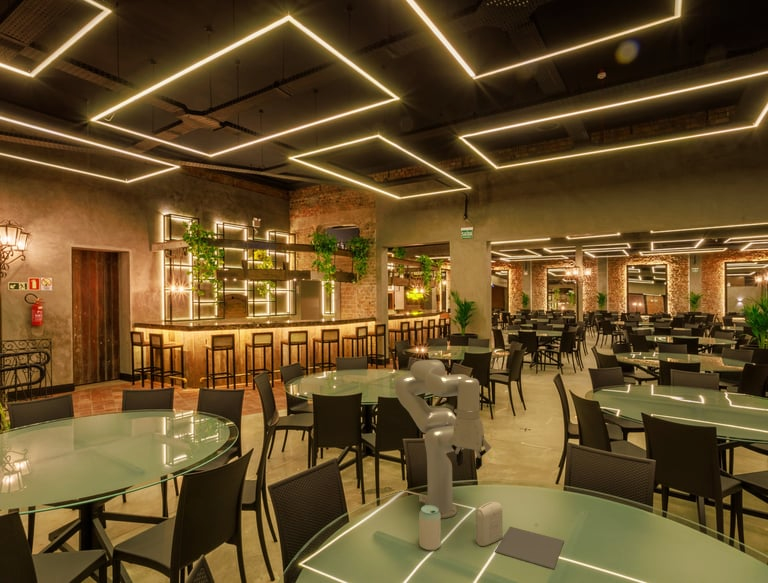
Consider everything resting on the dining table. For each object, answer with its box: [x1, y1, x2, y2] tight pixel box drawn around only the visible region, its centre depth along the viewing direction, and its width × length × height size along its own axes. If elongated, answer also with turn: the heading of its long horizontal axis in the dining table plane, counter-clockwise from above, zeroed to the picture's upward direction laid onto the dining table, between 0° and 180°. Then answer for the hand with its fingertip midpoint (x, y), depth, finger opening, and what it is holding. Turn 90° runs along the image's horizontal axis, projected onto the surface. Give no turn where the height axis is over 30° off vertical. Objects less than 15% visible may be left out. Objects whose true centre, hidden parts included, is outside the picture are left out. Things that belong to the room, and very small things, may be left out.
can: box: [418, 505, 442, 551], centre depth 143 cm, size 7×7×12 cm
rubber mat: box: [494, 526, 565, 570], centre depth 142 cm, size 18×18×1 cm
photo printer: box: [475, 501, 504, 547], centre depth 146 cm, size 10×4×12 cm, turn 124°
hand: (469, 466), depth 150 cm, fingers open, 5 cm apart
